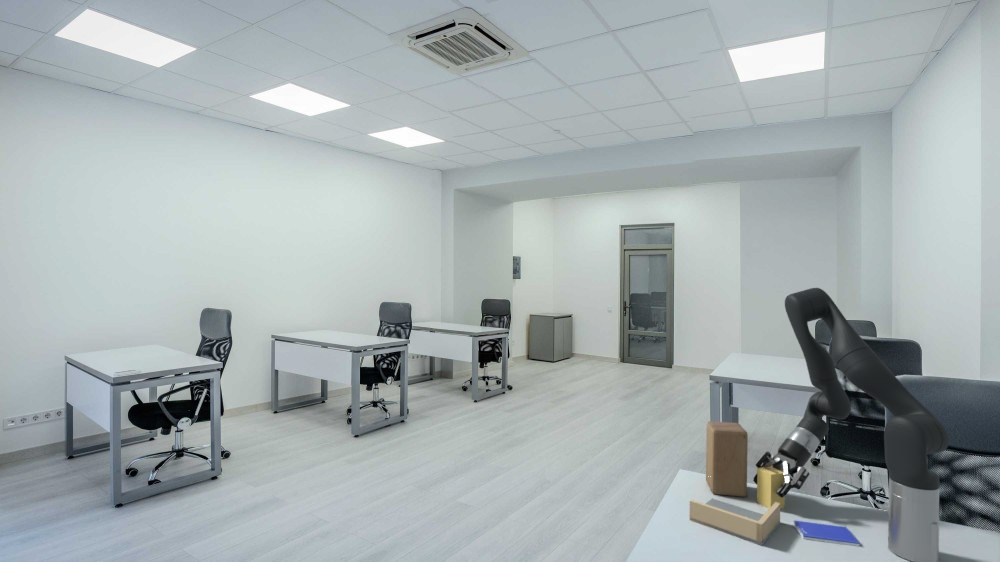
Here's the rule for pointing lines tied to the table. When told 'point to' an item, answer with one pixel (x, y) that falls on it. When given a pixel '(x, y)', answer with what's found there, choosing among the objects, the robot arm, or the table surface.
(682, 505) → the table surface
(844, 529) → the hard drive
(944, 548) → the table surface
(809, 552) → the table surface
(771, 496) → the mustard block
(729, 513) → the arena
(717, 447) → the wooden block
